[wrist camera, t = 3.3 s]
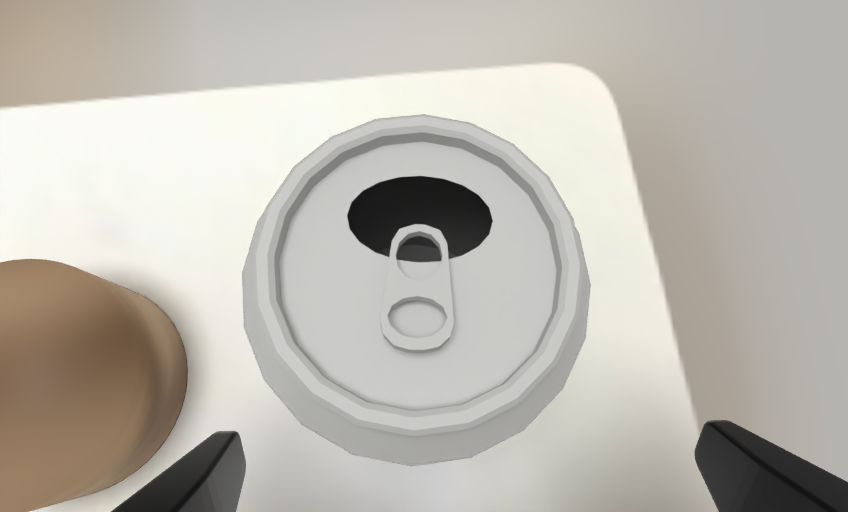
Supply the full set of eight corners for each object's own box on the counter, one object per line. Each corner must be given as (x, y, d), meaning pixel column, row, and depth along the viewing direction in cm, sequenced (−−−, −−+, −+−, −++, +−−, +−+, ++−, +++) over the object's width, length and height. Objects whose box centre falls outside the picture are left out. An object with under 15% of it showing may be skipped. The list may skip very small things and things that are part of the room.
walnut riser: (189, 479, 19) (134, 497, 15) (-36, 514, 19) (-152, 543, 15) (185, 273, 21) (136, 244, 17) (-17, 299, 21) (-113, 275, 17)
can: (503, 253, 22) (607, 87, 10) (506, 438, 20) (640, 484, 8) (328, 247, 22) (239, 72, 10) (312, 433, 20) (179, 472, 8)
